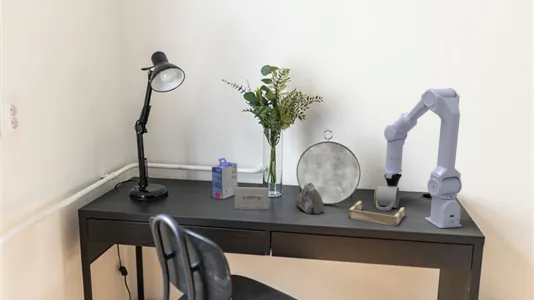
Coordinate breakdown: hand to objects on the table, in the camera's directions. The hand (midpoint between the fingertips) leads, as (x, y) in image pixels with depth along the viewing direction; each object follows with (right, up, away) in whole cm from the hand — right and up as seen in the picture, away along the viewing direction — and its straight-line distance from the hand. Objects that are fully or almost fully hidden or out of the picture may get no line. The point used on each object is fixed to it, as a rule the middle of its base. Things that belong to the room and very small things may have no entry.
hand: (392, 193), depth 187 cm
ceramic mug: (-4, -5, -6) cm, 8 cm away
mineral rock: (-32, -5, -9) cm, 33 cm away
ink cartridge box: (-63, -2, +6) cm, 63 cm away
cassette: (-52, -5, -10) cm, 53 cm away
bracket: (-10, -7, -17) cm, 21 cm away
